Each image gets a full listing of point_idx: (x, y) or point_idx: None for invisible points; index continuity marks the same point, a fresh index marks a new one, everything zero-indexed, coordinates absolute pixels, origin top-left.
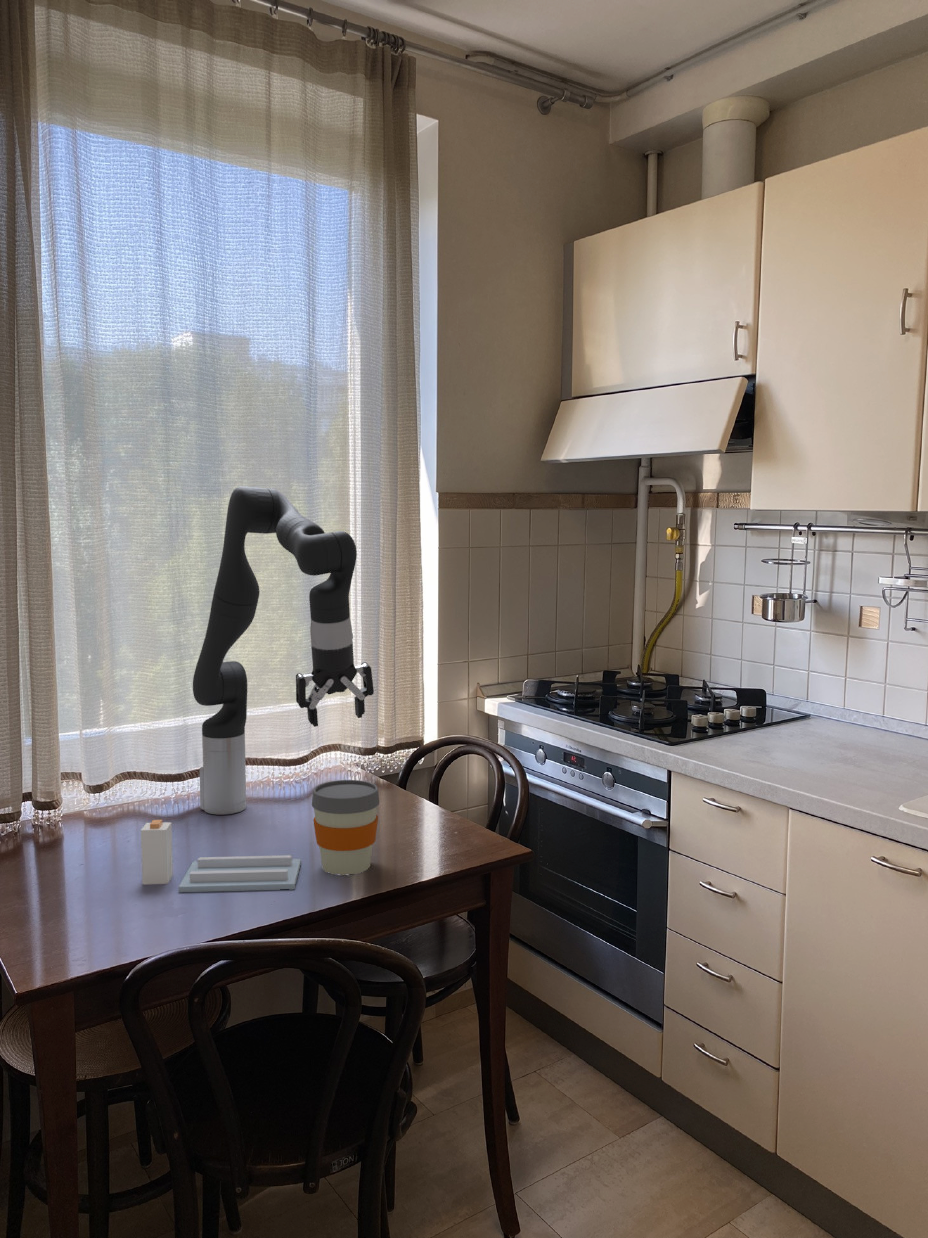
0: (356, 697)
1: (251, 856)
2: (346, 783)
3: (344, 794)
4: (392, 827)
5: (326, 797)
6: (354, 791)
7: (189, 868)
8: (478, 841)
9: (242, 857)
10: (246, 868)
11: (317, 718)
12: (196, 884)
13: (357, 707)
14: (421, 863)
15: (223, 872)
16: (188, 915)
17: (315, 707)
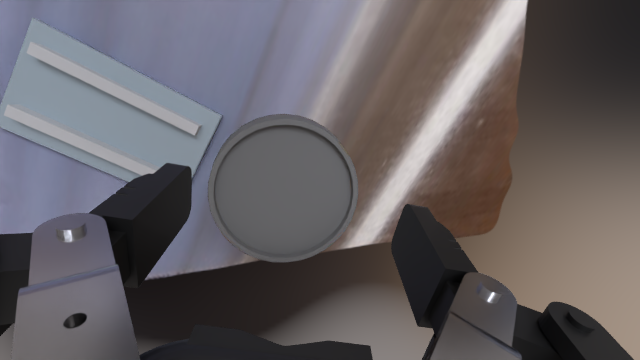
0: (442, 296)
1: (130, 94)
2: (316, 132)
3: (276, 204)
4: (421, 43)
5: (221, 231)
6: (305, 195)
7: (21, 50)
8: (479, 171)
9: (114, 89)
10: (124, 108)
11: (169, 244)
12: (27, 130)
13: (408, 277)
14: (373, 203)
15: (67, 139)
16: (11, 212)
17: (133, 266)
